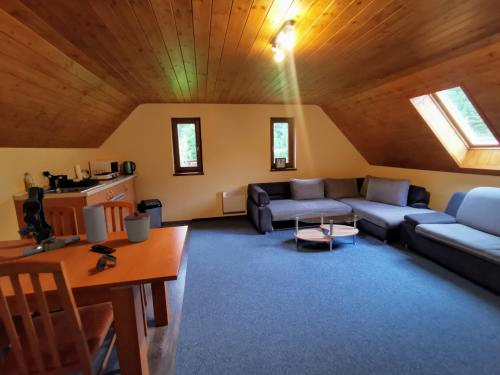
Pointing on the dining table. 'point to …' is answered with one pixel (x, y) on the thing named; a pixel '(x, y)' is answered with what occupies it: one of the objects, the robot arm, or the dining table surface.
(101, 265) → the dark curved loop
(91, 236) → the cylinder vase
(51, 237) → the lever
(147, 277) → the dining table surface
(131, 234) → the canister
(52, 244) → the valve
